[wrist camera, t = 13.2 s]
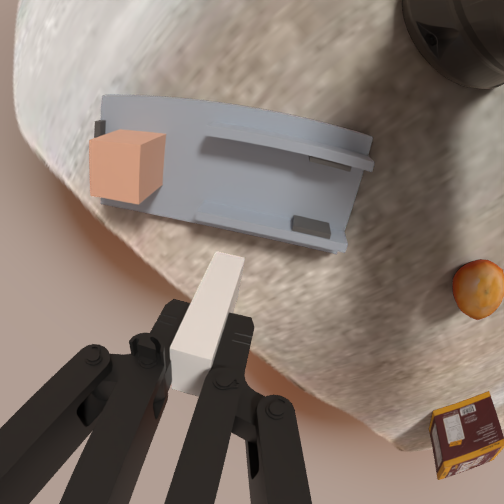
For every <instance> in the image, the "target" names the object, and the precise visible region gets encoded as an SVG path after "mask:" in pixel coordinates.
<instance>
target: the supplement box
mask: <svg viewBox="0 0 504 504" xmlns="http://www.w3.org/2000/svg"><path fill="white" fill-rule="evenodd" d="M429 432H430V437H431V442H432V447H433V453H434V459H435V465H436V472H437V479H438V480H440V479H443V478H446V477H449V476H452V475H455V474H458V473H461V472H464V471H466V470H469V469H472V468H474V467H477V466H480V465H482V464H484V463H487V462H490V461H492V460H494V458H495V457H496V456H497V455H498V454H499V453H500V451H501V450H502V449H503V448H504V437H503V433H502V430H501V426H500V423H499V420H498V417H497V414H496V410H495V408H494V405H493V402H492V399H491V395H490V393H489V391H488V392H485V393H483V394H480V395H478V396H475V397H473V398H470V399H467V400H464V401H461V402H459V403H456V404H453V405H450V406H447V407H443V408H440V409H437V410H434V411H433V413H432V418H431V422H430V426H429Z"/></svg>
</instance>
